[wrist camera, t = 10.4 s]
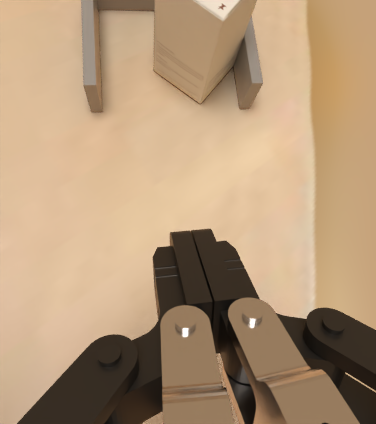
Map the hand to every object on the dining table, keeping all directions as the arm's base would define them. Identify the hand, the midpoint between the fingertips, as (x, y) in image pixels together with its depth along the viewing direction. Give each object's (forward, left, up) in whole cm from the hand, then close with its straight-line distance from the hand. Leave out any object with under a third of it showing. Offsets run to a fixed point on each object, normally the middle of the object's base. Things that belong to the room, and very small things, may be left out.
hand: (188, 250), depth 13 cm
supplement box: (-7, +25, -23) cm, 34 cm away
